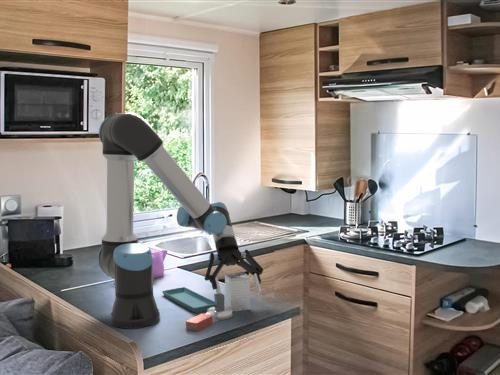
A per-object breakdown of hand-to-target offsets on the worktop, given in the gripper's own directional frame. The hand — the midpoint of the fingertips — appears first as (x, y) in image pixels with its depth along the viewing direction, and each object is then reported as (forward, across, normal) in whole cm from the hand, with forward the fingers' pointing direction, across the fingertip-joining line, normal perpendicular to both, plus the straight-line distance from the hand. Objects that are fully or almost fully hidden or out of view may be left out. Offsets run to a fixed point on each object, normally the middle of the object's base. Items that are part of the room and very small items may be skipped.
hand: (239, 294), depth 193 cm
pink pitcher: (-36, +22, -44) cm, 61 cm away
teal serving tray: (-6, +14, -14) cm, 21 cm away
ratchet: (+9, +12, +2) cm, 15 cm away
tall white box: (+2, 0, -5) cm, 5 cm away
